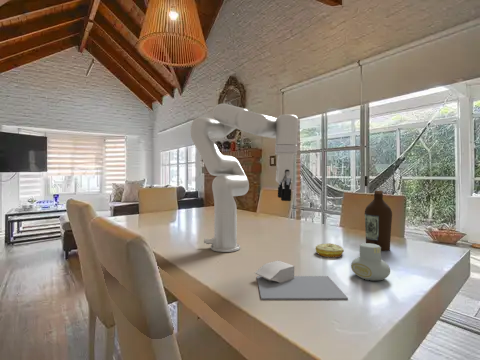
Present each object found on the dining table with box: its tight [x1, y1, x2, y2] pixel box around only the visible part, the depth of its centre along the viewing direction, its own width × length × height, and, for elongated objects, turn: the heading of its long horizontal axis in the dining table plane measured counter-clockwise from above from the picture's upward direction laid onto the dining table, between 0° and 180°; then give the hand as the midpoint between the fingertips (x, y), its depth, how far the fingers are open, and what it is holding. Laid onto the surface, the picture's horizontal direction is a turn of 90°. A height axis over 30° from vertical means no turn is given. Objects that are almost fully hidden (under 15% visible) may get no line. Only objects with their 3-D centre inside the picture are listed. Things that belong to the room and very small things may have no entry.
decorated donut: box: [315, 242, 345, 258], centre depth 109 cm, size 10×11×4 cm
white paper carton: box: [254, 260, 295, 283], centre depth 82 cm, size 4×7×10 cm
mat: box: [256, 275, 349, 301], centre depth 76 cm, size 22×15×1 cm
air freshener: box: [350, 242, 391, 282], centre depth 84 cm, size 11×8×10 cm
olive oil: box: [364, 190, 393, 252], centre depth 118 cm, size 11×11×25 cm
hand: (283, 199), depth 97 cm, fingers open, 9 cm apart
